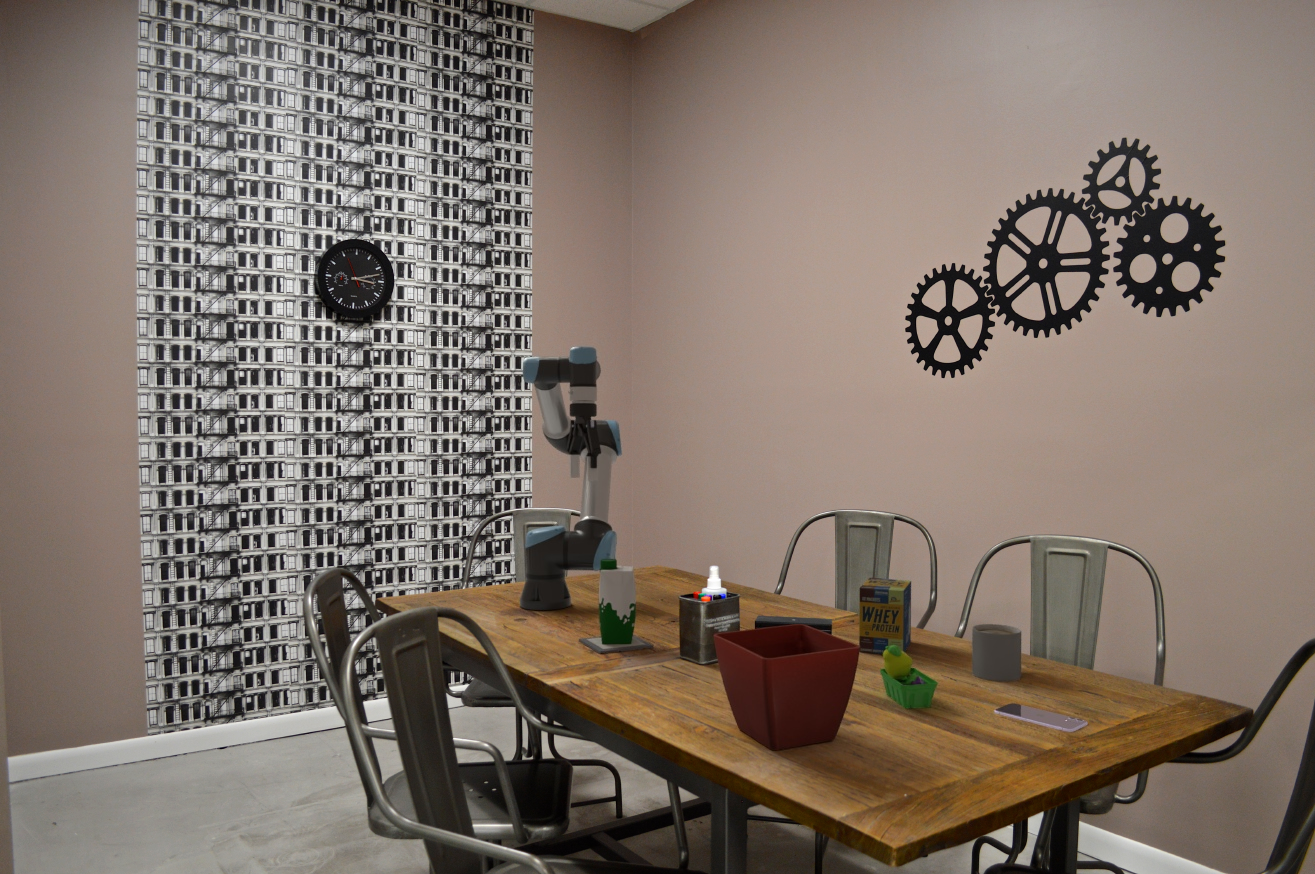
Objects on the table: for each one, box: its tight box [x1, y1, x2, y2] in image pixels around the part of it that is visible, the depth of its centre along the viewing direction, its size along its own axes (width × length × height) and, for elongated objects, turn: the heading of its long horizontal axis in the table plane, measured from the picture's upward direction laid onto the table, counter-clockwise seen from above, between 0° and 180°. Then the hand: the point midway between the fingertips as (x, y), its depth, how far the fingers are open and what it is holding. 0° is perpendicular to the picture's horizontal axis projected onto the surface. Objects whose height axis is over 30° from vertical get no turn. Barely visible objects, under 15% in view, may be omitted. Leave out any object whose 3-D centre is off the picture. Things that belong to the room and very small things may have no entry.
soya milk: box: [598, 558, 637, 644], centre depth 227 cm, size 9×9×20 cm
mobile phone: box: [993, 702, 1088, 733], centre depth 171 cm, size 8×1×15 cm
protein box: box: [858, 577, 912, 655], centre depth 224 cm, size 10×15×16 cm
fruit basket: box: [879, 645, 938, 710], centre depth 181 cm, size 11×9×11 cm
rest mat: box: [578, 634, 654, 655], centre depth 227 cm, size 14×14×1 cm
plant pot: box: [713, 623, 861, 751], centre depth 161 cm, size 19×19×17 cm
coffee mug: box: [971, 623, 1022, 683], centre depth 200 cm, size 13×10×10 cm
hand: (583, 479), depth 257 cm, fingers open, 13 cm apart
